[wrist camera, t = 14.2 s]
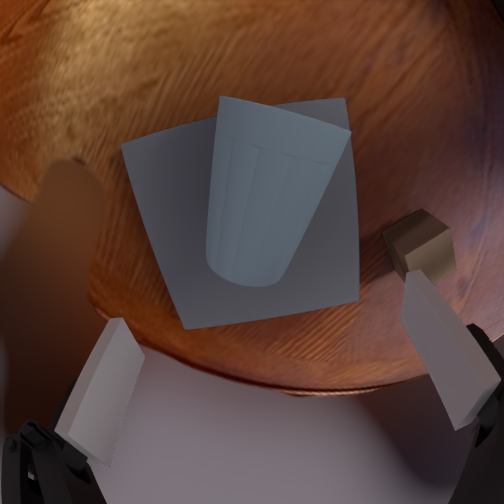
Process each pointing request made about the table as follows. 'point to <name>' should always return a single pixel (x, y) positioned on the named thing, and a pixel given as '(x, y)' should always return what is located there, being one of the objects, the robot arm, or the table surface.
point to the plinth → (196, 216)
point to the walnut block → (421, 247)
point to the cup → (265, 187)
